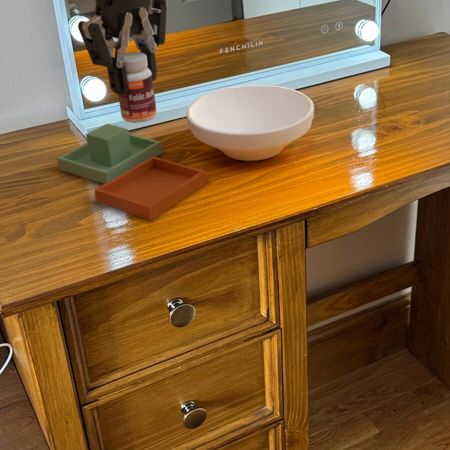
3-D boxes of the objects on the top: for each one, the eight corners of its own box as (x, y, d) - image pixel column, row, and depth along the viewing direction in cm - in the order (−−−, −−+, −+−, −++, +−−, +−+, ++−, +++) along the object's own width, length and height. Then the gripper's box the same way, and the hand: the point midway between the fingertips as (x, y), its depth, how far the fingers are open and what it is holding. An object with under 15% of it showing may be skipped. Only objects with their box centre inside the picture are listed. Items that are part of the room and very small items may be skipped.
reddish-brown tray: (150, 220, 103) (148, 207, 102) (96, 202, 108) (94, 189, 107) (207, 183, 112) (205, 170, 111) (154, 167, 117) (152, 155, 116)
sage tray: (107, 185, 112) (105, 173, 111) (59, 169, 117) (56, 157, 116) (162, 153, 121) (161, 141, 120) (115, 140, 126) (113, 128, 125)
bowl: (207, 188, 110) (202, 143, 107) (179, 136, 126) (174, 95, 122) (333, 164, 116) (333, 120, 112) (291, 117, 131) (289, 77, 128)
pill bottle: (134, 126, 101) (124, 65, 96) (115, 116, 104) (105, 57, 100) (164, 116, 103) (156, 56, 99) (145, 106, 107) (136, 48, 102)
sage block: (111, 167, 116) (107, 140, 114) (90, 160, 118) (85, 134, 116) (132, 155, 119) (128, 129, 117) (111, 149, 121) (106, 123, 119)
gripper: (133, -61, 99) (150, 65, 108) (48, -38, 89) (75, 99, 98) (177, -56, 96) (191, 74, 105) (94, -32, 86) (118, 110, 95)
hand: (135, 86), depth 101 cm, fingers closed on pill bottle, 4 cm apart
